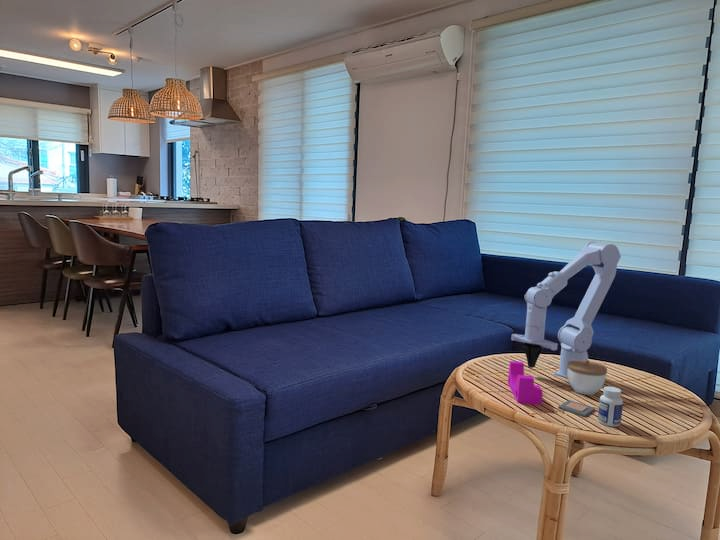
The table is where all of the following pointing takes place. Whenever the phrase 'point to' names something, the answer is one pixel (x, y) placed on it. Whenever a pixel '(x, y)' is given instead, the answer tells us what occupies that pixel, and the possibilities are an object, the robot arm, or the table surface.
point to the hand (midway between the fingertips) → (531, 366)
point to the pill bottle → (610, 407)
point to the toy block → (523, 385)
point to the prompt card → (576, 408)
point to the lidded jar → (586, 376)
